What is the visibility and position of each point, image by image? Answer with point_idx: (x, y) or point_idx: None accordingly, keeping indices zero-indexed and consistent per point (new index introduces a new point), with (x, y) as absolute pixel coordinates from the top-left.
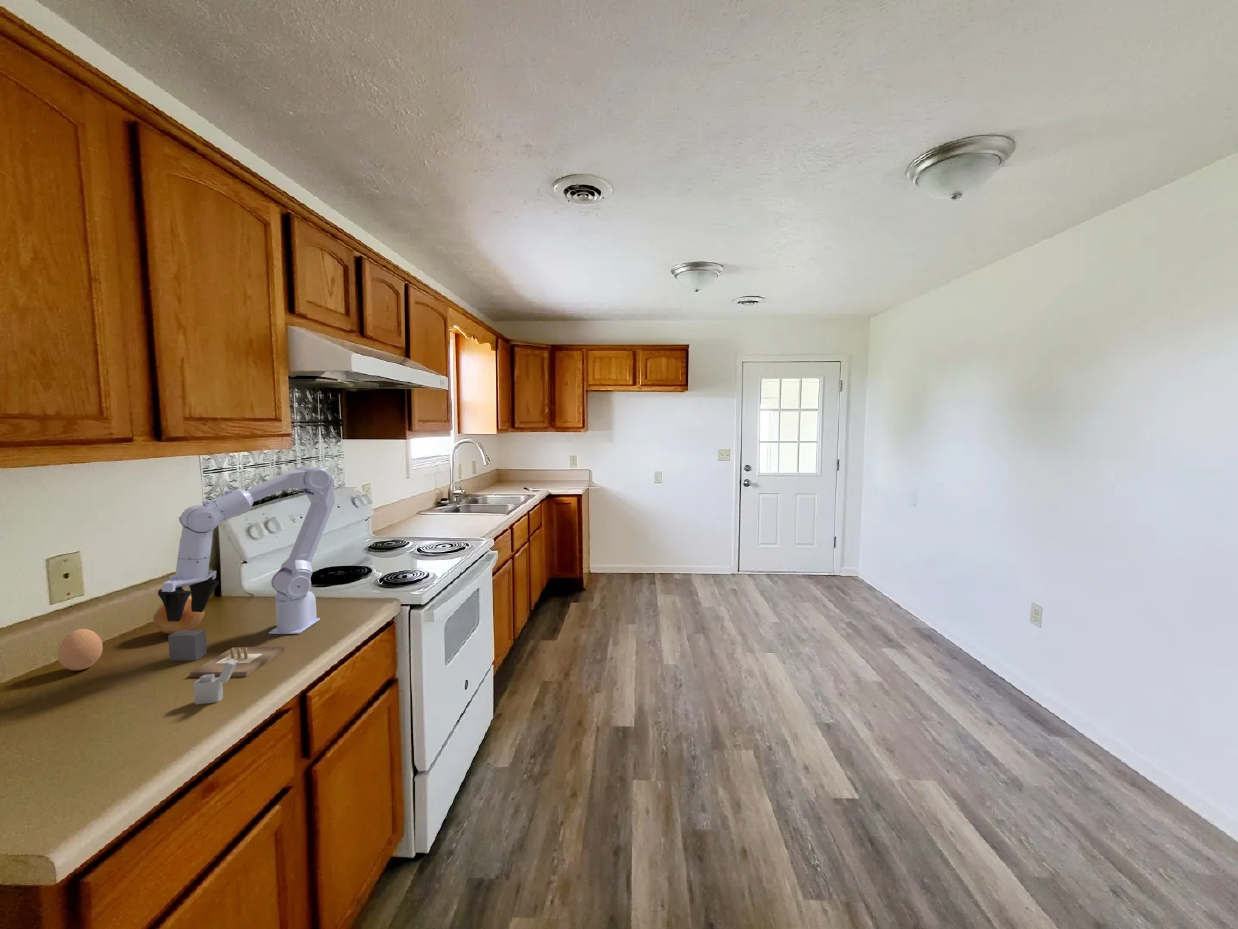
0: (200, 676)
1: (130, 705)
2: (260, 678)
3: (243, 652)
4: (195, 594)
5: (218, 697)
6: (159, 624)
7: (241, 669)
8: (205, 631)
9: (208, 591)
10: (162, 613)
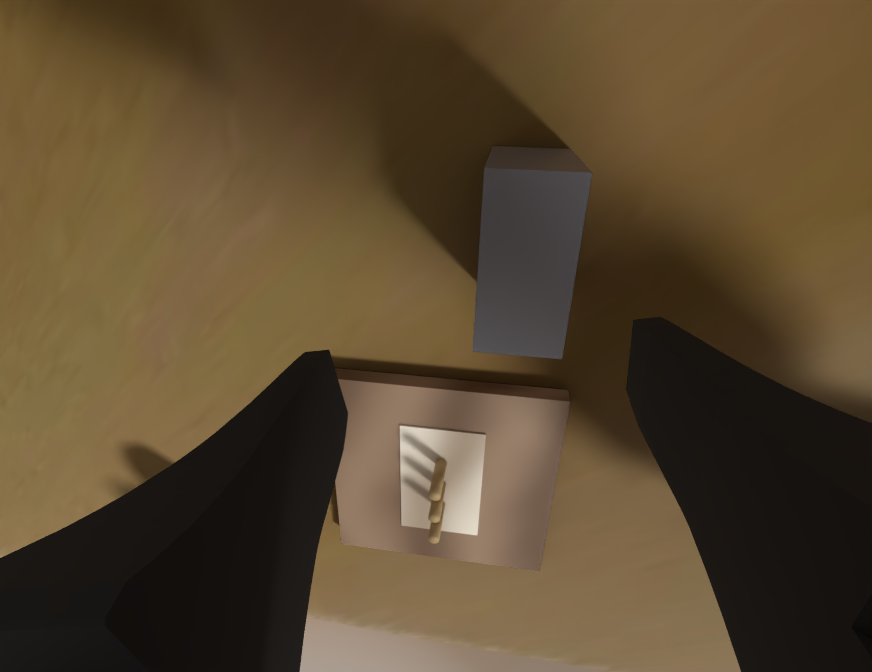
0: None
1: (133, 307)
2: (338, 565)
3: (501, 468)
4: (733, 459)
5: None
6: None
7: (356, 525)
8: (561, 353)
9: (727, 609)
10: None
